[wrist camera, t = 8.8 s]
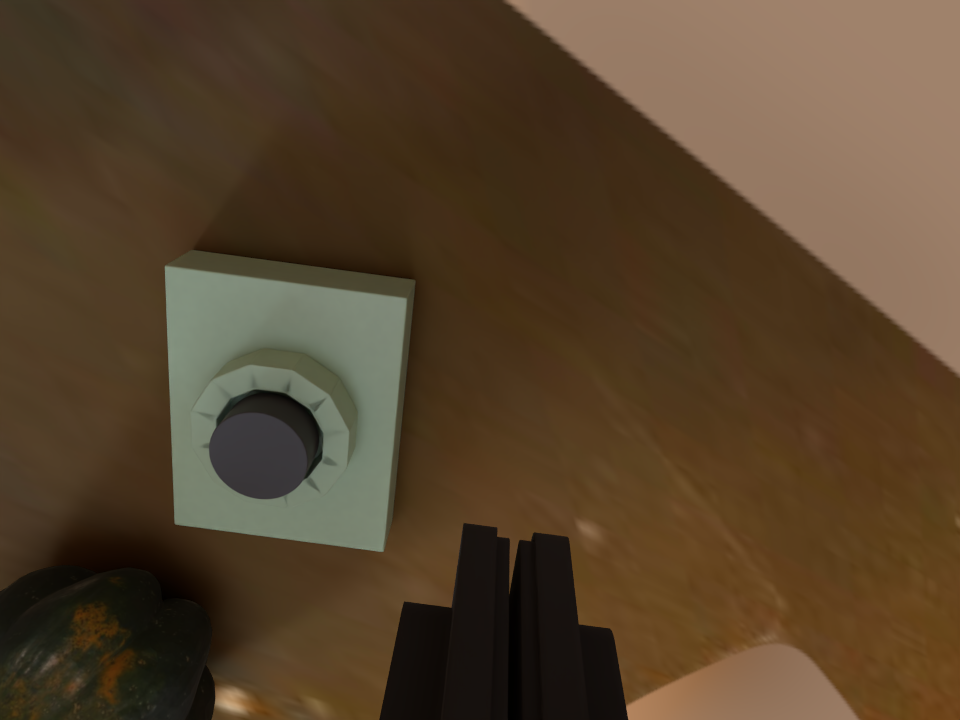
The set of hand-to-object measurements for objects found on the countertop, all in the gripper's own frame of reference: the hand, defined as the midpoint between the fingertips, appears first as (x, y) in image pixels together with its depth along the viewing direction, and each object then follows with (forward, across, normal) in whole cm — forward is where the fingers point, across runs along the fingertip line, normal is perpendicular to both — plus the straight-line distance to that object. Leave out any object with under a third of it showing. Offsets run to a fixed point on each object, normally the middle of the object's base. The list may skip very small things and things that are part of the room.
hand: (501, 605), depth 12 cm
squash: (+25, +20, +27) cm, 42 cm away
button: (+20, +10, +9) cm, 25 cm away
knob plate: (+25, +10, +9) cm, 29 cm away
